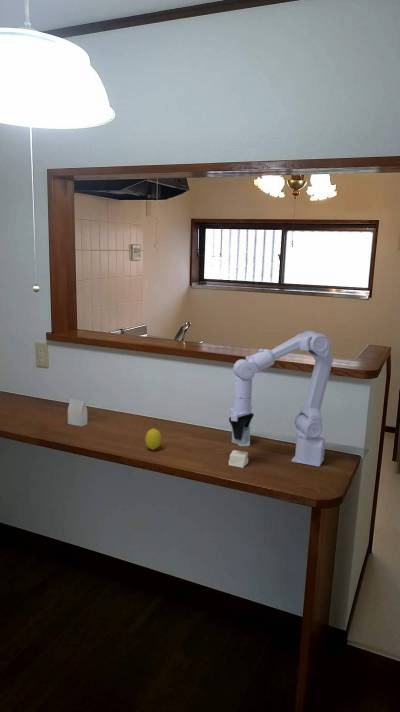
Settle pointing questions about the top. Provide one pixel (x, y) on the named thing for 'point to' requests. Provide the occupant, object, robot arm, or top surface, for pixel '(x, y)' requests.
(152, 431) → the lemon
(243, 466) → the slab bottom
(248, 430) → the blue cube
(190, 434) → the top surface
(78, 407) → the white upright block
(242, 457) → the slab top
